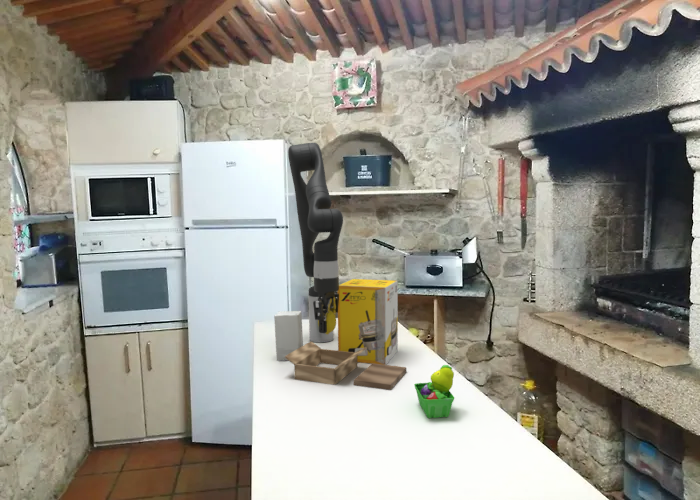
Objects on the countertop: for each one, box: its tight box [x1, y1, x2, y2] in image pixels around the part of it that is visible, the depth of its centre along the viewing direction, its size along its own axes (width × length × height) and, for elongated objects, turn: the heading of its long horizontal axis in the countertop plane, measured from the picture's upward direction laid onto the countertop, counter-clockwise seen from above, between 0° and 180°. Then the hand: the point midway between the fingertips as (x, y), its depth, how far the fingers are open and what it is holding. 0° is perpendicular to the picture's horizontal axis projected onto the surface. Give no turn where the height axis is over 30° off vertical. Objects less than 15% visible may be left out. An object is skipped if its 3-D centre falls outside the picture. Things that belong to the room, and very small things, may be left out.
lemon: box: [318, 310, 337, 334], centre depth 150 cm, size 6×6×8 cm
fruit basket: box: [414, 364, 455, 419], centre depth 122 cm, size 11×9×11 cm
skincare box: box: [273, 310, 304, 362], centre depth 166 cm, size 8×7×16 cm
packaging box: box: [337, 278, 399, 365], centre depth 168 cm, size 16×16×25 cm
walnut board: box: [353, 363, 407, 391], centre depth 146 cm, size 16×11×2 cm
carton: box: [285, 341, 367, 386], centre depth 151 cm, size 17×20×7 cm
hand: (327, 330), depth 151 cm, fingers closed on lemon, 5 cm apart
